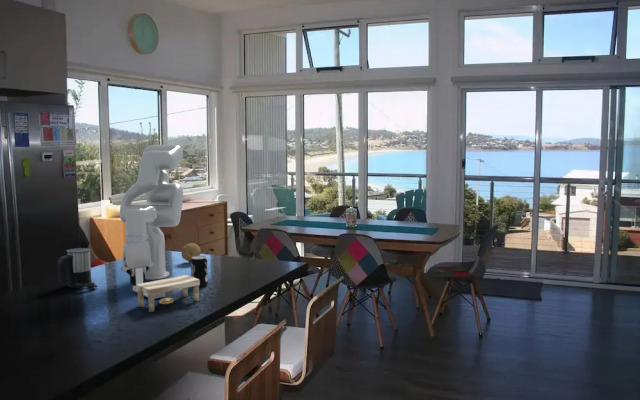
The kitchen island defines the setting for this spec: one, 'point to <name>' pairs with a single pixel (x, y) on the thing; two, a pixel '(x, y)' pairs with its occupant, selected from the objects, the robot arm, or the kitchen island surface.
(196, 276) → the beverage can
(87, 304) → the kitchen island surface
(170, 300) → the gold metal disc
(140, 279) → the white l-shaped block
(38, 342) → the kitchen island surface
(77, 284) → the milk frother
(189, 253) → the natural sponge
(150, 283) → the low shelf
